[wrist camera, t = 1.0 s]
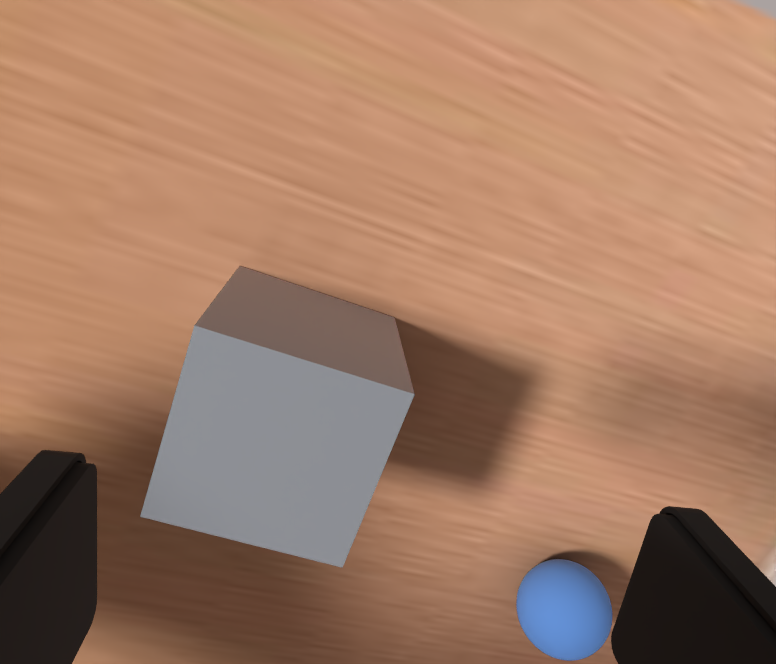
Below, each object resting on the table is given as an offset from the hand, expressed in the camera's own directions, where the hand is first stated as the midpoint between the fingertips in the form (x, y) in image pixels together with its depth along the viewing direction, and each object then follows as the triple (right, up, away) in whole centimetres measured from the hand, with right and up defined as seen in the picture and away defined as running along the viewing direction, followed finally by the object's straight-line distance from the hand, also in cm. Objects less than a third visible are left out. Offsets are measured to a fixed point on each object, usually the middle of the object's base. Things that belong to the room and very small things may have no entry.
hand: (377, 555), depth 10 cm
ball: (+10, -11, +22) cm, 27 cm away
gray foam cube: (-4, +2, +19) cm, 20 cm away
